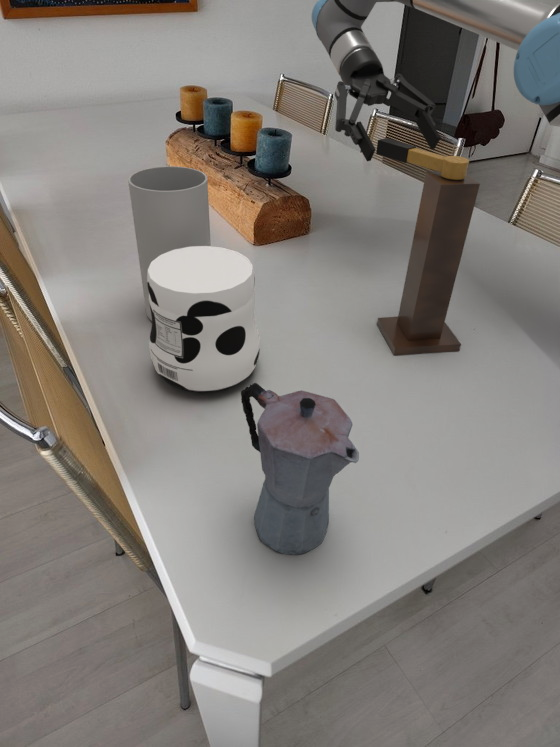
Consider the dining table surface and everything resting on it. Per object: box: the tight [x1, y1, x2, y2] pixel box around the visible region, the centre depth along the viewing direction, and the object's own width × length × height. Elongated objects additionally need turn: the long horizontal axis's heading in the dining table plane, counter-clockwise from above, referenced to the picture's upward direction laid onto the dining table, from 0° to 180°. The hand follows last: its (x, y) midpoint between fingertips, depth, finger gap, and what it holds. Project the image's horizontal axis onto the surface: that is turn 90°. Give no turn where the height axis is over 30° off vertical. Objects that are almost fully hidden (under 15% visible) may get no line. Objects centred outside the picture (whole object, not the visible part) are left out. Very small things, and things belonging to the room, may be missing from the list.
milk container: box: [147, 245, 261, 393], centre depth 83 cm, size 17×17×18 cm
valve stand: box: [376, 170, 481, 356], centre depth 90 cm, size 12×10×29 cm
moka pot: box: [240, 382, 360, 556], centre depth 59 cm, size 10×15×20 cm, turn 53°
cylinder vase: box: [127, 165, 212, 322], centre depth 95 cm, size 12×12×25 cm
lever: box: [375, 137, 470, 180], centre depth 84 cm, size 4×16×2 cm, turn 42°
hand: (404, 149), depth 97 cm, fingers open, 13 cm apart
